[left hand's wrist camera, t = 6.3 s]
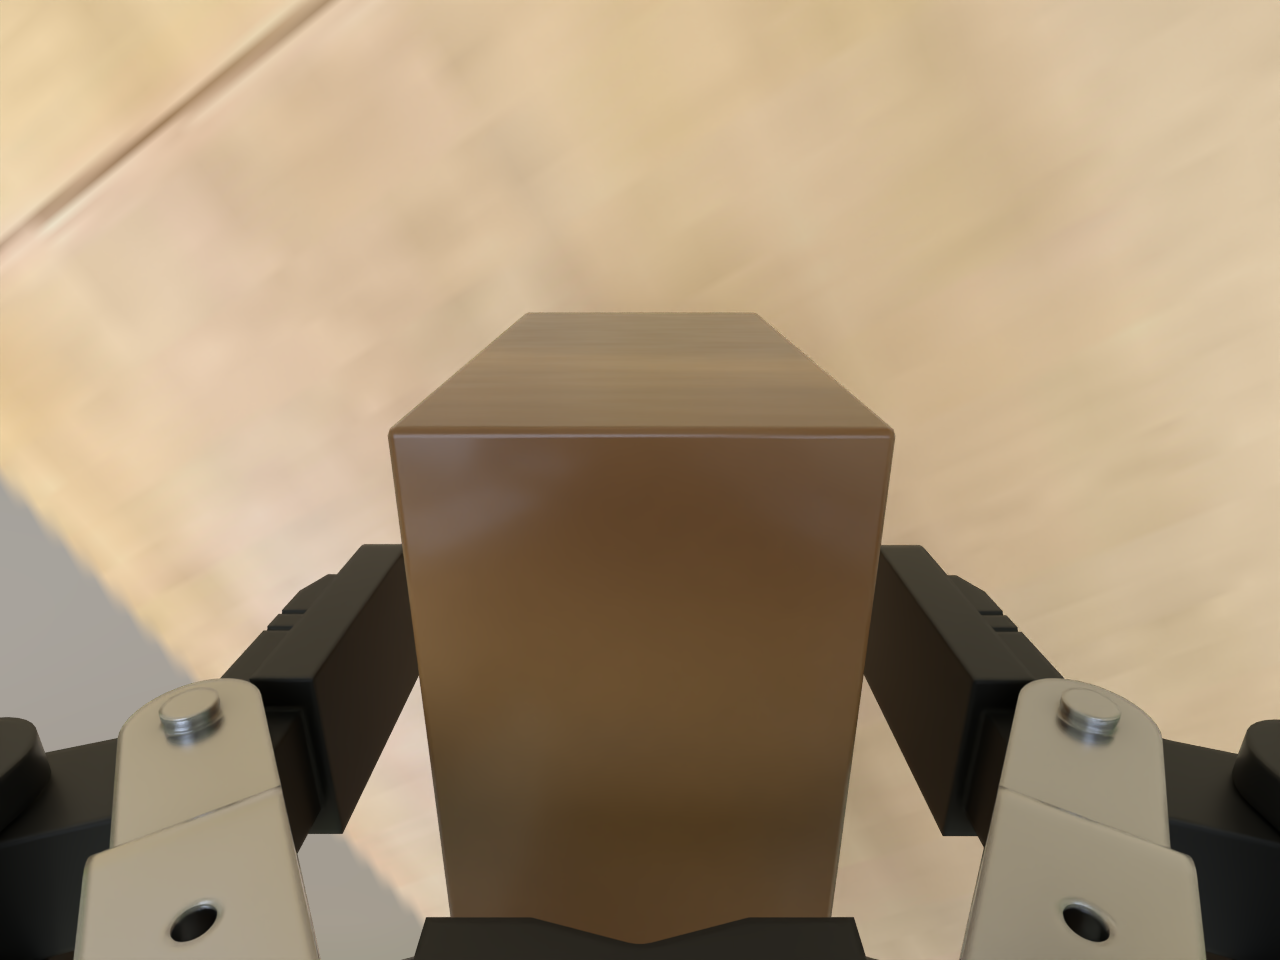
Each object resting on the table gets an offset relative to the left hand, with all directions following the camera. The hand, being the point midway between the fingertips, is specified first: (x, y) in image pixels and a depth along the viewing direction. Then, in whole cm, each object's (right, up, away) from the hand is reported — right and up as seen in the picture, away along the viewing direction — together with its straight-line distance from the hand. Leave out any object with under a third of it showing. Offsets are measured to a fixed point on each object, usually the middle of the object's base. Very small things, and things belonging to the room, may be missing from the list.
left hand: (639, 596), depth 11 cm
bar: (0, -5, +7) cm, 8 cm away
